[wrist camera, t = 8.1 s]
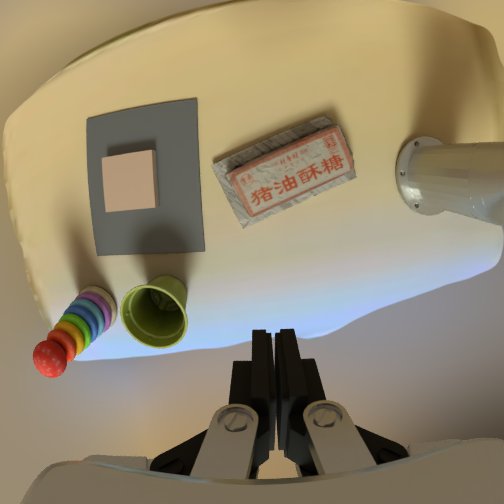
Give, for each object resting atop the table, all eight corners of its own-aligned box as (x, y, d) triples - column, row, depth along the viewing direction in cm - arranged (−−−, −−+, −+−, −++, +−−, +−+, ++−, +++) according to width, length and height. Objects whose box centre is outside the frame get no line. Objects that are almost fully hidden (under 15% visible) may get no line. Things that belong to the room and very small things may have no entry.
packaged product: (336, 108, 32) (366, 178, 35) (326, 114, 37) (354, 177, 40) (206, 164, 35) (241, 235, 37) (211, 165, 39) (242, 228, 42)
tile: (151, 149, 36) (101, 157, 36) (155, 207, 38) (105, 212, 38) (156, 150, 38) (107, 158, 38) (159, 205, 40) (111, 210, 40)
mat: (197, 99, 36) (196, 98, 36) (204, 250, 42) (204, 251, 42) (87, 119, 36) (86, 119, 36) (98, 255, 42) (97, 255, 42)
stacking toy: (73, 291, 44) (9, 343, 26) (105, 278, 43) (40, 334, 25) (93, 329, 46) (40, 391, 28) (126, 320, 45) (75, 389, 27)
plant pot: (184, 256, 42) (169, 276, 34) (207, 311, 45) (198, 341, 36) (132, 273, 43) (108, 295, 35) (155, 324, 45) (139, 353, 37)
